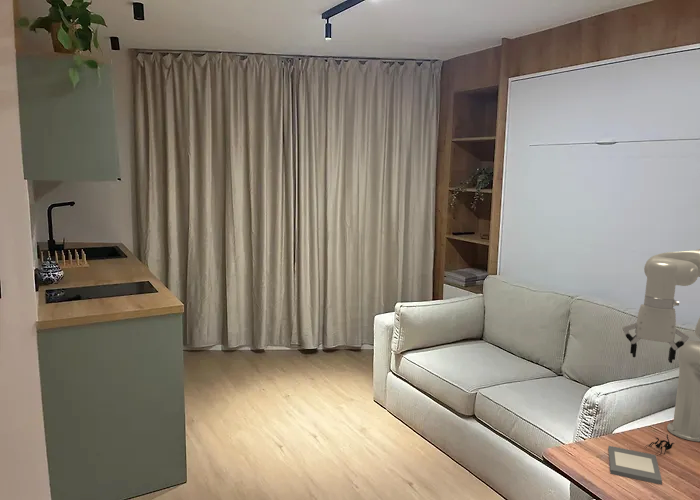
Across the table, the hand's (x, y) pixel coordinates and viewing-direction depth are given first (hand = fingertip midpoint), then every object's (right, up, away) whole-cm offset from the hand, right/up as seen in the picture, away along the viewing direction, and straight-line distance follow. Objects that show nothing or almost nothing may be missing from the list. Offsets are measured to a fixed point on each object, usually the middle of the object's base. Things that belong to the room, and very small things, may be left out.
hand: (651, 358), depth 169 cm
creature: (+6, -31, +8) cm, 32 cm away
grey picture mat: (-7, -31, -2) cm, 32 cm away
